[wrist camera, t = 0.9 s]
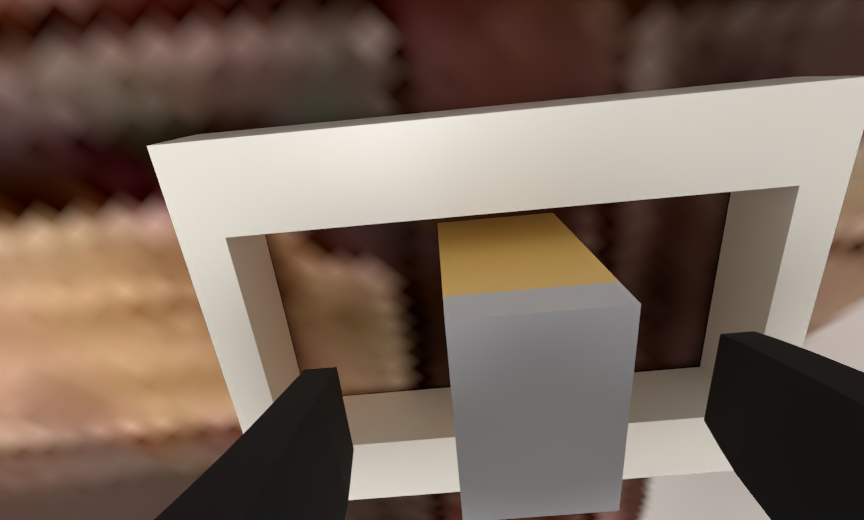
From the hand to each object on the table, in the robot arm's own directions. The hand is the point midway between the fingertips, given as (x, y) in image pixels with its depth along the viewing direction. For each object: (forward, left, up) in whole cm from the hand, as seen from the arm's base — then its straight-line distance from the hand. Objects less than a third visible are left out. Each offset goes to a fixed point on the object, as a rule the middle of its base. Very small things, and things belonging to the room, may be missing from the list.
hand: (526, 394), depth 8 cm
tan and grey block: (0, 0, -4) cm, 4 cm away
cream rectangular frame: (0, 0, -4) cm, 4 cm away
